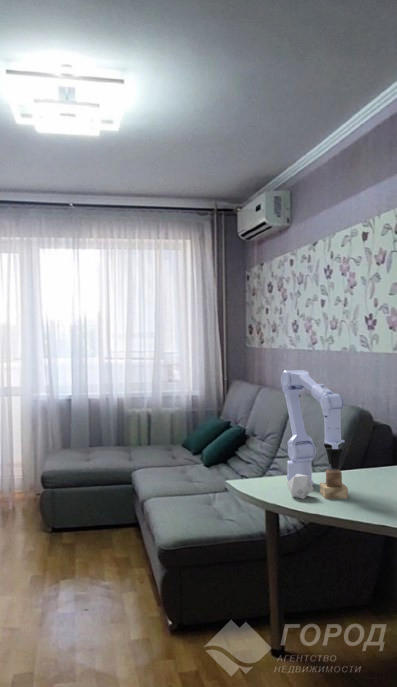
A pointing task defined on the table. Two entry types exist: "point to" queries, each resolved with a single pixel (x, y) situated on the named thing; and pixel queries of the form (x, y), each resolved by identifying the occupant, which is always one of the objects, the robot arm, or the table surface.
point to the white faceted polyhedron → (300, 486)
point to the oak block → (333, 491)
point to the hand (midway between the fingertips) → (333, 466)
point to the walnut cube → (333, 478)
